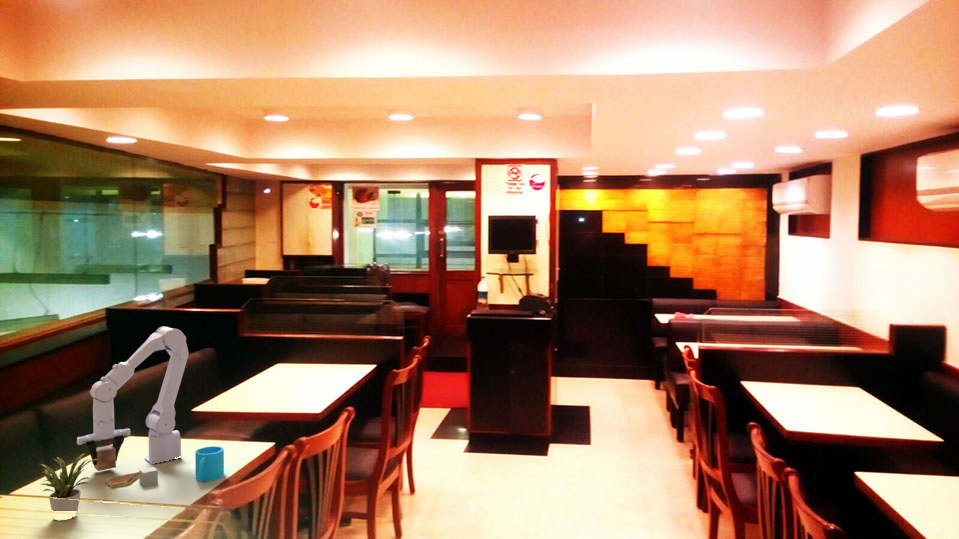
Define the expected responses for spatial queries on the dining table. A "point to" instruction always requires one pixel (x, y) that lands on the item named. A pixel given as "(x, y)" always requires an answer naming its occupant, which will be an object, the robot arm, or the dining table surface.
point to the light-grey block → (148, 476)
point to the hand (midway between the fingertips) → (104, 462)
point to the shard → (122, 480)
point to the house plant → (65, 486)
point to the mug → (209, 463)
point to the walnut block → (105, 458)
